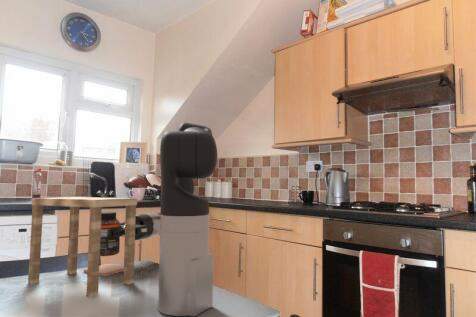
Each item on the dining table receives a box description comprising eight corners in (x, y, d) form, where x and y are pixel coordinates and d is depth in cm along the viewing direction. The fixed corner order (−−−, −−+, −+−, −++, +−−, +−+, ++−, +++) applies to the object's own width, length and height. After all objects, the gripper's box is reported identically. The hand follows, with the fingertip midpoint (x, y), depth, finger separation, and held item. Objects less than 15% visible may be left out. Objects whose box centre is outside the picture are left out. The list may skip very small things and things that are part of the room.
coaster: (128, 269, 91) (128, 266, 91) (105, 276, 84) (105, 273, 84) (108, 266, 95) (108, 263, 95) (83, 272, 88) (83, 269, 88)
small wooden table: (134, 282, 78) (137, 198, 80) (91, 297, 68) (95, 199, 70) (72, 272, 88) (76, 197, 90) (26, 283, 78) (31, 198, 80)
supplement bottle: (108, 251, 94) (109, 211, 95) (124, 253, 92) (125, 211, 93) (90, 255, 89) (92, 212, 90) (107, 257, 86) (108, 213, 87)
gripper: (128, 212, 107) (83, 217, 92) (163, 214, 100) (120, 220, 86) (128, 236, 106) (82, 245, 92) (163, 239, 100) (120, 249, 85)
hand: (101, 233), depth 89 cm, fingers closed on supplement bottle, 6 cm apart
